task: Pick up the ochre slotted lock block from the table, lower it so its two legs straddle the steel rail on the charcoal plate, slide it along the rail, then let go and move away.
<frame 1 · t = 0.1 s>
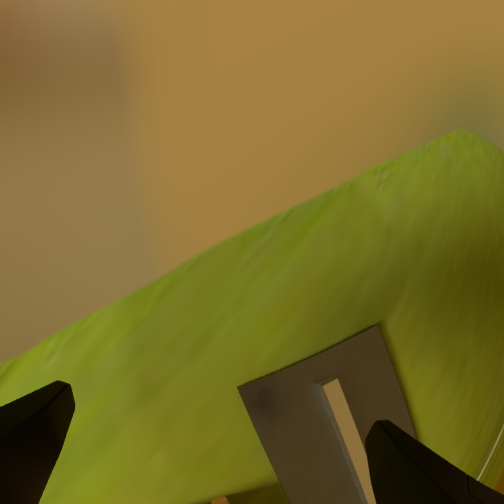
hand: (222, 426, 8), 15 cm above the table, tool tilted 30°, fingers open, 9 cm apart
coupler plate: (350, 459, 20), on the table
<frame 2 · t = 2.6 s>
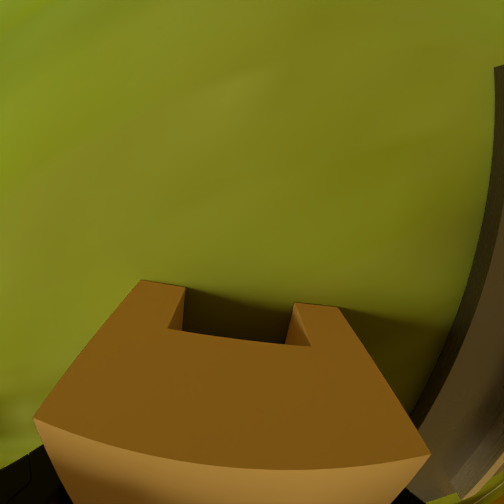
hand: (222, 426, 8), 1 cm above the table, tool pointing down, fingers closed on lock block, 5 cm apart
lock block: (224, 398, 9), on the table, touching gripper
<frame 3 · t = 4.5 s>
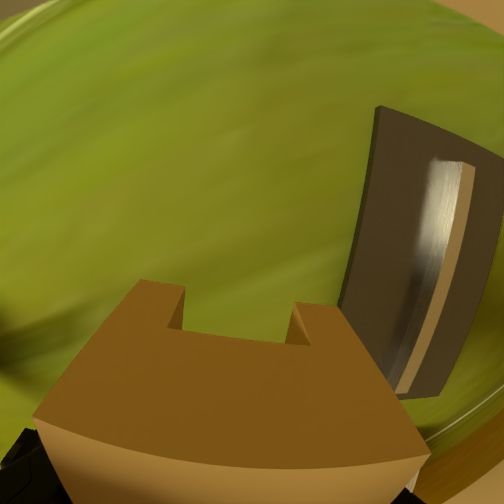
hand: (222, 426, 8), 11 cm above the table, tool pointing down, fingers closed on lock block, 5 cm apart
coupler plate: (423, 278, 19), on the table
lock block: (224, 398, 9), point 10 cm above the table, touching gripper
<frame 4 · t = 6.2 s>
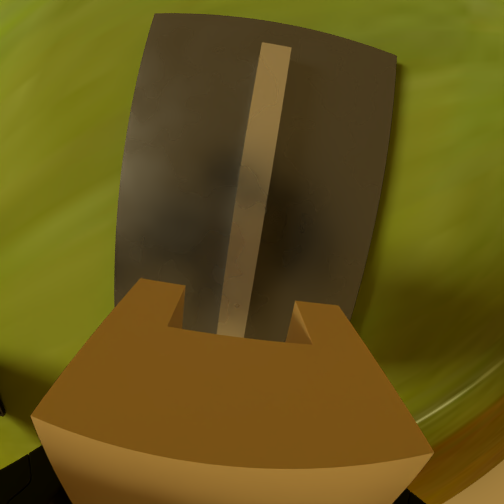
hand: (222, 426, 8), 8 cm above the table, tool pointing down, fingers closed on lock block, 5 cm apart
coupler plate: (244, 225, 15), on the table
lock block: (224, 398, 9), point 7 cm above the table, touching gripper
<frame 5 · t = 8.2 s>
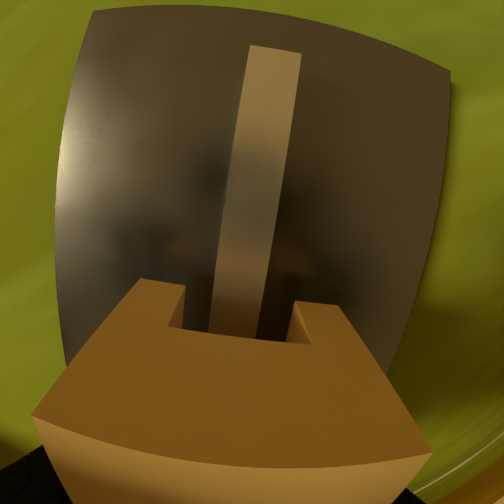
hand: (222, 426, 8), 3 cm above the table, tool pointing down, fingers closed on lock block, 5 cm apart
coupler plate: (229, 324, 10), on the table
lock block: (224, 397, 9), point 2 cm above the table, touching gripper
when the fingers open (3 cm above the table, at t = 9.9 s): lock block drops 1 cm, resting on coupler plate.
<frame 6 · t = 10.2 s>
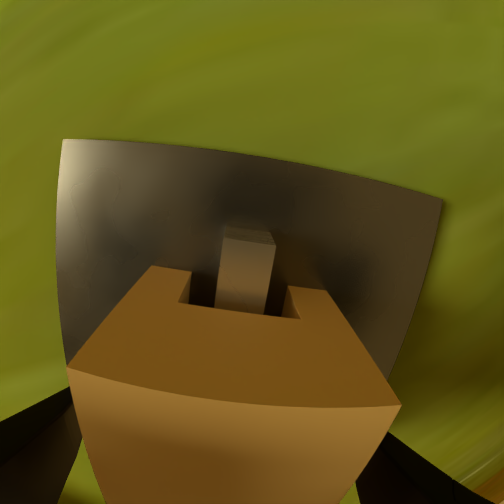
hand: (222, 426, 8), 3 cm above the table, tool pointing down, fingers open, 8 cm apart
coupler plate: (217, 420, 11), on the table
lock block: (224, 376, 10), point 1 cm above the table, touching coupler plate
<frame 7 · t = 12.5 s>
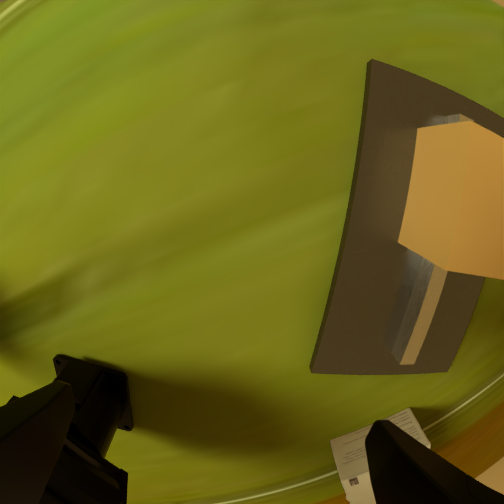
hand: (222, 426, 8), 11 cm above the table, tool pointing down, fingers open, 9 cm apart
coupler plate: (426, 238, 18), on the table
lock block: (442, 194, 16), point 1 cm above the table, touching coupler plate
small box: (374, 443, 24), on the table
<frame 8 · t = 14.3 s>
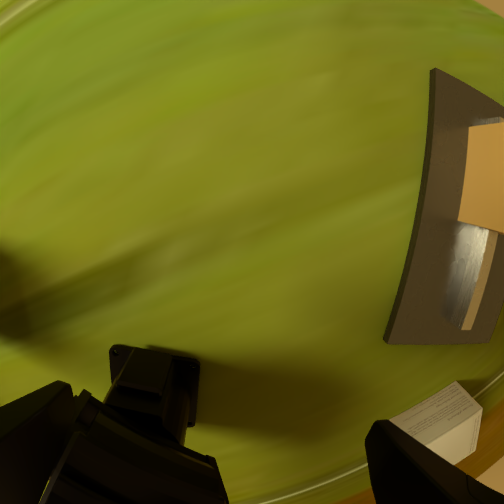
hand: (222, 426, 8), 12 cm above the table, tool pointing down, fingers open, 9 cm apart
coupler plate: (474, 219, 19), on the table
lock block: (487, 182, 18), point 1 cm above the table, touching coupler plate
small box: (424, 420, 24), on the table
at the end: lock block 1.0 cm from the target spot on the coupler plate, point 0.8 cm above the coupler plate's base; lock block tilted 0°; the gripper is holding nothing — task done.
